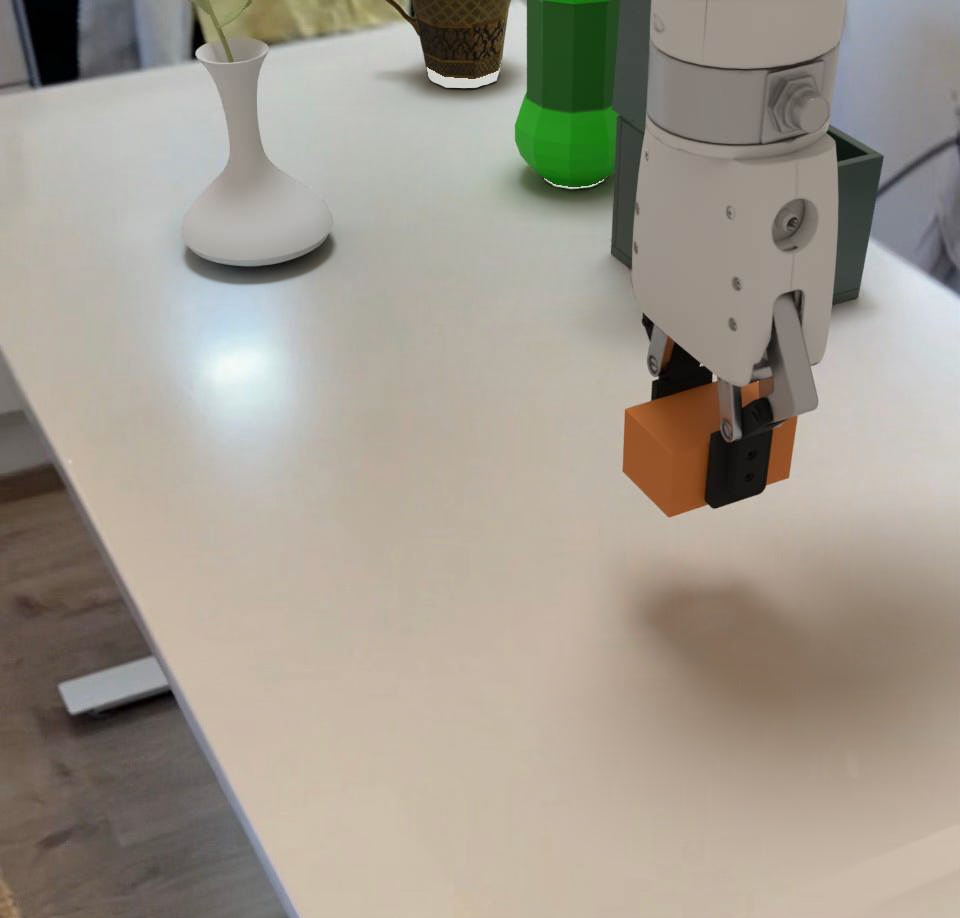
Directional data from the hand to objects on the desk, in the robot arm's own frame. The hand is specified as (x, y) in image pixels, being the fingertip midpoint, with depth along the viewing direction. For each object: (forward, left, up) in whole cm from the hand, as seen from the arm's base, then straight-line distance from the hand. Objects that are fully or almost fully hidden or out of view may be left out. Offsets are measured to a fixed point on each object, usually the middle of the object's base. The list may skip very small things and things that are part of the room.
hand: (705, 468), depth 70 cm
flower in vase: (+27, -45, -8) cm, 53 cm away
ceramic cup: (+12, -78, -8) cm, 79 cm away
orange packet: (0, 0, 0) cm, 0 cm away
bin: (-8, -37, -8) cm, 38 cm away
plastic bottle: (+2, -55, -8) cm, 56 cm away
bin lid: (-3, -35, +9) cm, 36 cm away
